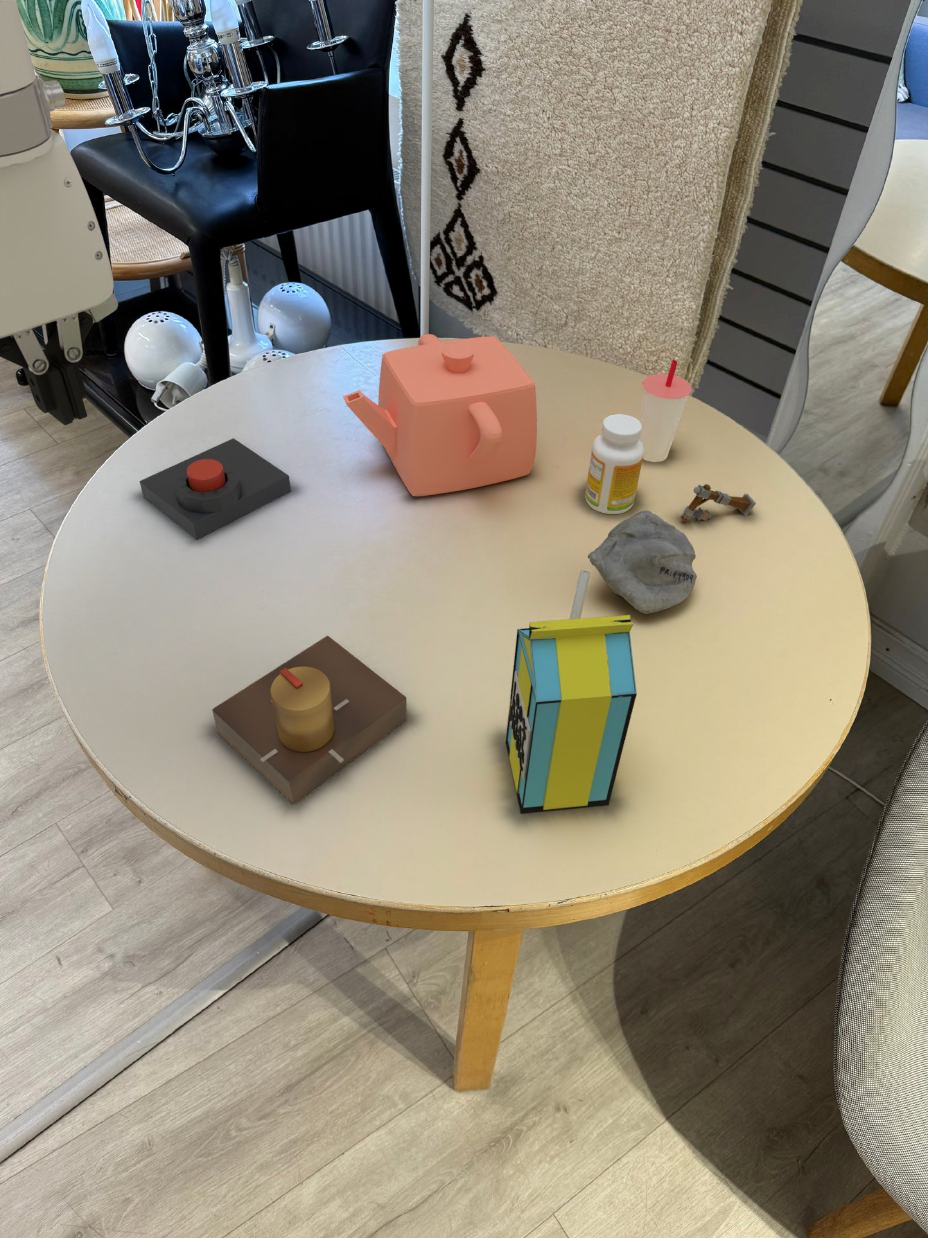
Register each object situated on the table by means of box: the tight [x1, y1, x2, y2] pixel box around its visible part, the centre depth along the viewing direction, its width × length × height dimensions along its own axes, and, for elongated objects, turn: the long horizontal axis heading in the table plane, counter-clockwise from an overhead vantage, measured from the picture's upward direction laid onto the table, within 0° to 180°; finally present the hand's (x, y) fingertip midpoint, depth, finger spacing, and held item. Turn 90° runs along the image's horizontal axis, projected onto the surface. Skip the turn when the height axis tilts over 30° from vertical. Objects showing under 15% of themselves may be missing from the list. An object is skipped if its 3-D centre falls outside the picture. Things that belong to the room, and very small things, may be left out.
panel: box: [211, 635, 408, 805], centre depth 74 cm, size 12×11×3 cm
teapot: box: [343, 333, 538, 497], centre depth 98 cm, size 20×22×14 cm
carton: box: [505, 570, 638, 815], centre depth 66 cm, size 7×8×18 cm
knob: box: [271, 667, 335, 752], centre depth 69 cm, size 4×4×5 cm
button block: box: [139, 437, 292, 541], centre depth 96 cm, size 12×10×4 cm
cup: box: [639, 358, 692, 463], centre depth 102 cm, size 5×5×12 cm
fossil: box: [587, 510, 698, 615], centre depth 86 cm, size 11×9×8 cm
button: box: [187, 459, 225, 492], centre depth 92 cm, size 4×4×2 cm
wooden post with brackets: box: [680, 483, 757, 522], centre depth 96 cm, size 2×8×4 cm, turn 108°
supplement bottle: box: [584, 413, 644, 515], centre depth 96 cm, size 5×5×10 cm
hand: (65, 413), depth 62 cm, fingers closed
